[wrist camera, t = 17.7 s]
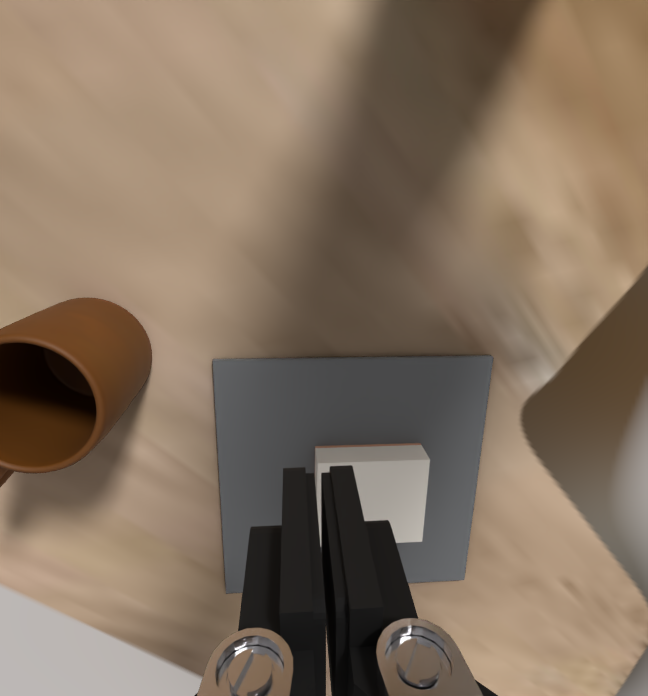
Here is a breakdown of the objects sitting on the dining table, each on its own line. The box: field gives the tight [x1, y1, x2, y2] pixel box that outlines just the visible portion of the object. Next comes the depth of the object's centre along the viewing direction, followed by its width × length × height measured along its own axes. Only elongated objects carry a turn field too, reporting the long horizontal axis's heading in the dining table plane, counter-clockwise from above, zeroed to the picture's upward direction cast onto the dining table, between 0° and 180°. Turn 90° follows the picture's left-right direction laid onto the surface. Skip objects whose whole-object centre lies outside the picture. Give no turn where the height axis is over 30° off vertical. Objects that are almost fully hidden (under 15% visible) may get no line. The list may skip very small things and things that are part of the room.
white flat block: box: [315, 443, 430, 546], centre depth 35 cm, size 7×2×8 cm
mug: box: [0, 298, 152, 487], centre depth 27 cm, size 12×8×9 cm, turn 141°
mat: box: [213, 355, 493, 594], centre depth 36 cm, size 20×20×1 cm
